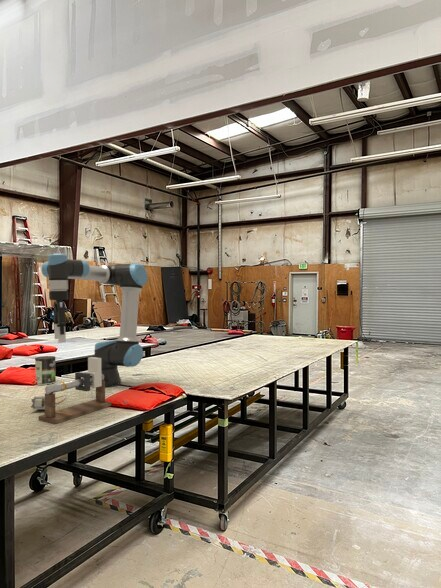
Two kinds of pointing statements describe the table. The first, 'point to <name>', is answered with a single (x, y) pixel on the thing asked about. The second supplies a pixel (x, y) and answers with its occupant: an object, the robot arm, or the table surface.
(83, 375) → the dark gray nut plate
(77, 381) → the steel pipe
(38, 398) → the electrical component
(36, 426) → the table surface
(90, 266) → the robot arm
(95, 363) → the white u-shaped bracket
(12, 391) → the table surface
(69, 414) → the pipe stand
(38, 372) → the coffee can
